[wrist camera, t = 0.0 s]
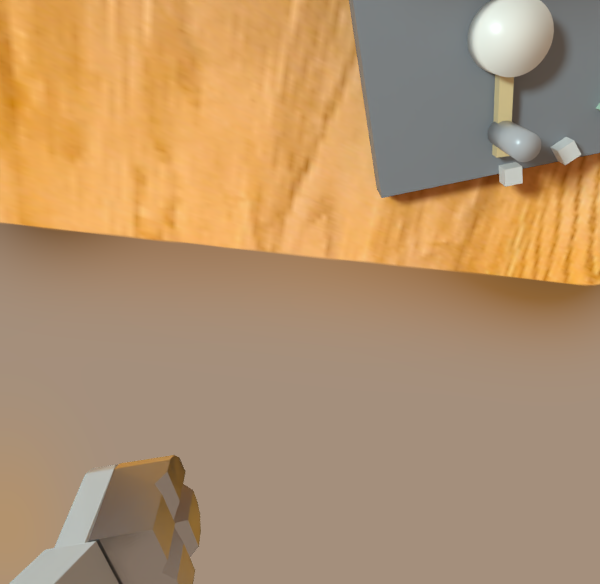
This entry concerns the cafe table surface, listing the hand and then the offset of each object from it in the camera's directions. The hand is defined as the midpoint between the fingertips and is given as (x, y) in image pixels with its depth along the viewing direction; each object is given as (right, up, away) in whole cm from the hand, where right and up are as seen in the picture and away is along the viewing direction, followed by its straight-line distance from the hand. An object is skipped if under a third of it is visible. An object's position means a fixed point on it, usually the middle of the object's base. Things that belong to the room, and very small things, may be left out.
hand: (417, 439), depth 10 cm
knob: (+16, +21, +40) cm, 48 cm away
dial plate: (+15, +26, +41) cm, 51 cm away
